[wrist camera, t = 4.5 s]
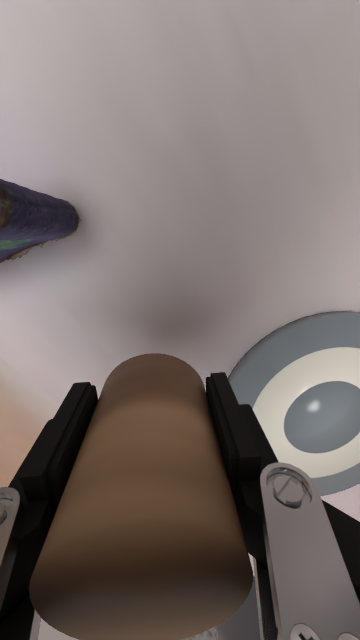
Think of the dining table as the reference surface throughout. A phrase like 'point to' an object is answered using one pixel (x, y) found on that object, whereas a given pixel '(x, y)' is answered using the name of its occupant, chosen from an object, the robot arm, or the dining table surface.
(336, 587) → the robot arm
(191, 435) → the brown rounded cylinder
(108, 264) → the dining table surface
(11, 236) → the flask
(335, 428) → the plate
